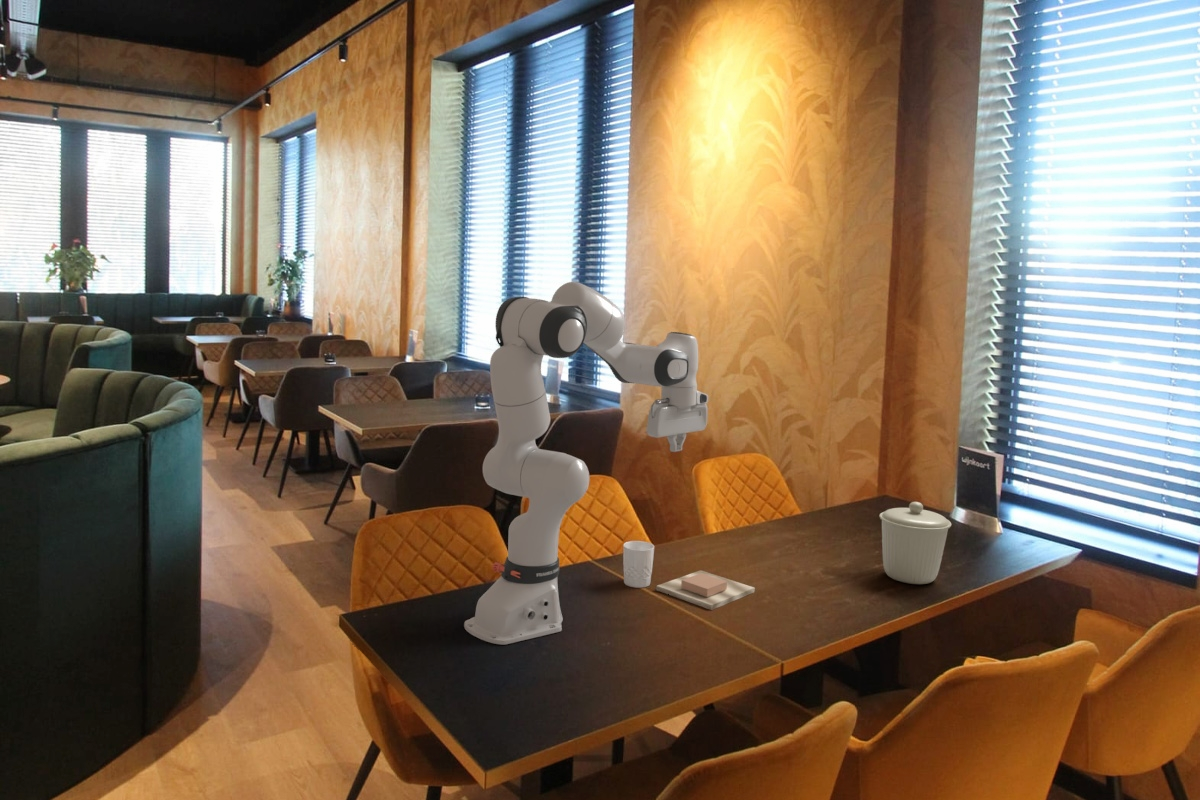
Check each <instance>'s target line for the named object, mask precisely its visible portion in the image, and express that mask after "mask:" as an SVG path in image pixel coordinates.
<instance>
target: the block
mask: <svg viewBox="0 0 1200 800" xmlns="http://www.w3.org/2000/svg"><path fill="white" fill-rule="evenodd" d="M681 588H683V589H684V590H687V591H690V592H693V593H696V594H699V595H701V596H704V597H709V596H711V595H714V594H717V593H719V592H722V591H724V590H726V589H727V581H724V580H721V579H718V578H715V577H711V576H708V575H705V574H702V573H700V574H697V575H695V576H692V577H689V578H686V579H683V580H682V582H681Z"/></svg>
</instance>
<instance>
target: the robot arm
mask: <svg viewBox="0 0 1200 800" xmlns="http://www.w3.org/2000/svg"><path fill="white" fill-rule="evenodd" d="M496 312H497V313H496V316H495V332H496V334H495V341H496V342H497V344H498V345H499V347H498V348H497V349H495V351H494V352H493V353H492V354H491V357H490V362H489V363H490V364H489V365H490V366H489V368H490V370H489V372H490V374H489V376H490V385H491V393H492V398H493V404H494V408H495V413H496V414H495V415H496V420H497V424H498V437H497V438H498V439H497V442H496V444H495V445H494V447H492V448H491V449H490V450H489V451H488V452H487V453H486V455H485V457H484V460H483V463H482V475H483V479H484V480H485V483H486V485H488V486H489V487H490V488H493V489H495V490H497V491H500V492H502V493H504V494H507V495H513V496H517V497H522V498H528V501H529V504H528V509H527V511H526V512H523V513H521V514H519V515H518V516H516V517H514V519H513V520H512V521H511V522H510V525H509V527H508V537H507V538H508V539H507V540H508V542H507V545H508V546H507V548H508V549H507V556H506V559H505V560H504V564H503V563H500V562H498V561H495V562H494V563H493V564H492V570H493V571H494V572H497V573H498V574H500V577H499V578H498V579H496V581H494V583H493V584H492V585H491V586H490V587H489V588H488V589H487V590H486V592H484V593H483V594H482V595H481V597H480V596H479V599H478V601H477V603H476V607H475V614H474V616H473V617H471V618H470V619H467V620H465V621H464V623H463V627H464V629H465V630H466V632H467V633H469V634H470V635H471V636H473V637H476V638H478V639H480V640H481V641H484V642H488V643H491V644H496V645H508V644H514V643H518V642H521V641H525V640H531V639H535V638H540V637H543V636H547V635H551V634H555V633H556V634H557V633H559V632H562V631H563V629H562V627H563V626H562V622H563V619H564V618H563V615H562V611H561V610H562V608H561V606H560V597H559V595H560V594H559V588H558V587H559V586H558V585H559V584H558V576H560V558H559V556H558V554H559V553H558V552H559V539H560V538H559V537H560V530H561V529H560V528H561V524H562V521H563V519H564V517H565V516H566V515H565V514H566V513H567V512H568V510H569V509H570V507H572V506H573V505H574V504H575V503H577V502H578V501H580V500H581V499H582V498H583V497H584V496H585V494H586V493H587V491H588V488H589V485H590V472H589V468H588V466H587V464H586V463H585V461H584V460H582V459H580V458H578V457H575V456H573V455H571V454H567V453H565V452H560V451H555V450H547V449H541V448H539V447H538V445H537V444H536V440H537V439H539V438H540V437H542V436H543V435H544V434H545V433H546V432H547V430H548V429H549V427H550V425H551V419H552V418H551V414H550V408H549V403H548V399H547V398H548V397H547V391H546V388H545V387H546V385H545V381H544V378H543V375H542V361H543V357H544V356H549V357H550V358H553V359H566V358H569V357H572V356H574V355H575V354H577V353H578V351H579V350H580V348H581V347H582V346H583V344H584V345H585V346H586V347H587V348H588V349H590V350H591V351H592V353H594V354H595V355H596V356H598V358H600V359H601V360H602V361H603V362H605V363H606V364H607V366H608V367H609V368H610V371H611V372H612V373H613V375H614V376H615V378H616V379H617V380H618V381H619V382H621V383H624V384H637V385H638V384H639V385H645V386H653V387H660V388H661V393H660V394H661V396H660V398H659V399H655V400H654V401H653V402H652V403H651V405H650V409H649V411H648V415H647V420H646V421H647V424H646V433H647V436H649V437H651V438H652V437H653V438H663V437H666V439H667V440H668V443H669V451H670V452H672V453H676V452H680V451H683V445H684V443H685V440H686V438H687V434H688V433H694V432H700V431H705V429H706V427H707V424H708V411H709V410H708V408H709V407H708V403H709V398H710V397H709V395H708V394H707V393H704V392H702V391H700V390H698V382H697V373H698V369H699V345H698V344H699V343H698V340H697V337H696V336H694V335H692V334H690V333H686V332H680V331H679V332H678V331H671V332H668V333H667V334H666V336H665V337H666V338H665V339H664V340H663V341H662V342H661V343H659V344H657V345H656V344H655V346H654V345H648V344H647V345H646V344H637V343H632V342H624V341H623V342H622V340H621V339H622V337H623V335H624V333H625V329H626V318H625V315H624V314H623V312H622V311H621V309H620V308H619V306H617V305H616V304H615V303H614V302H613V301H611V300H610V299H609V298H608V297H606V296H605V295H603V294H601V292H598V291H597V290H596V289H593V288H591V287H590V286H588V285H587V284H586V285H585V284H583V283H581V282H578V281H569V282H566V283H563V284H562V285H561V286H559V287H558V289H557V290H555V292H554V294H553V295H552V297H551V300H550V301H548V300H545V299H544V300H543V299H540V298H529V297H527V296H515V297H514V296H513V297H510V298H508V299H506V300H504V301H503V302H502V303H501V304H500V305H499V308H498V310H497V311H496Z"/></svg>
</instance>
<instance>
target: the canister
mask: <svg viewBox="0 0 1200 800" xmlns="http://www.w3.org/2000/svg"><path fill="white" fill-rule="evenodd" d="M878 517H879V519H880V521H881V544H882V549H881V550H882V565H883V570H884V572H885V574H886V575H887V576H888V577H889V578H891V579H892V580H894V581H898V582H900V583H905V584H911V585H926V584H930V583H932V582H933V581H935V580H936V578H937V576H938V574H939V572H940V567H941V562H942V560H943V555H944V550H945V546H946V541H947V537H948V531H949V529H950V528H951V527H952V522H951V521H950V520H949V519H947V518H946V517H945V516H943V515H942V514H940V513H937V512H935V511H931V510H926V509H924V505H923V504H922V503H921V502H919V501H912V502H910V503H909V504H908V507H894V508H893V507H892V508H888V509H886V510H885V511H883V512H881V513H879V516H878Z"/></svg>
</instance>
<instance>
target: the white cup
mask: <svg viewBox="0 0 1200 800" xmlns="http://www.w3.org/2000/svg"><path fill="white" fill-rule="evenodd" d="M622 547H623V550H622V551H623V557H622V559H623V560H622V561H623V563H622V564H623V568H622V569H623V583H624V584H625V586H628V587H630V588H639V589H640V588H642V589H643V588H646V587H650V584H651V580H652V574H653V565H654V564H653V563H654V554H655V545H654V544H653V543H651V542H647V541H644V540H642V541H641V540H630V541H626V542H624V543H623V545H622Z"/></svg>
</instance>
